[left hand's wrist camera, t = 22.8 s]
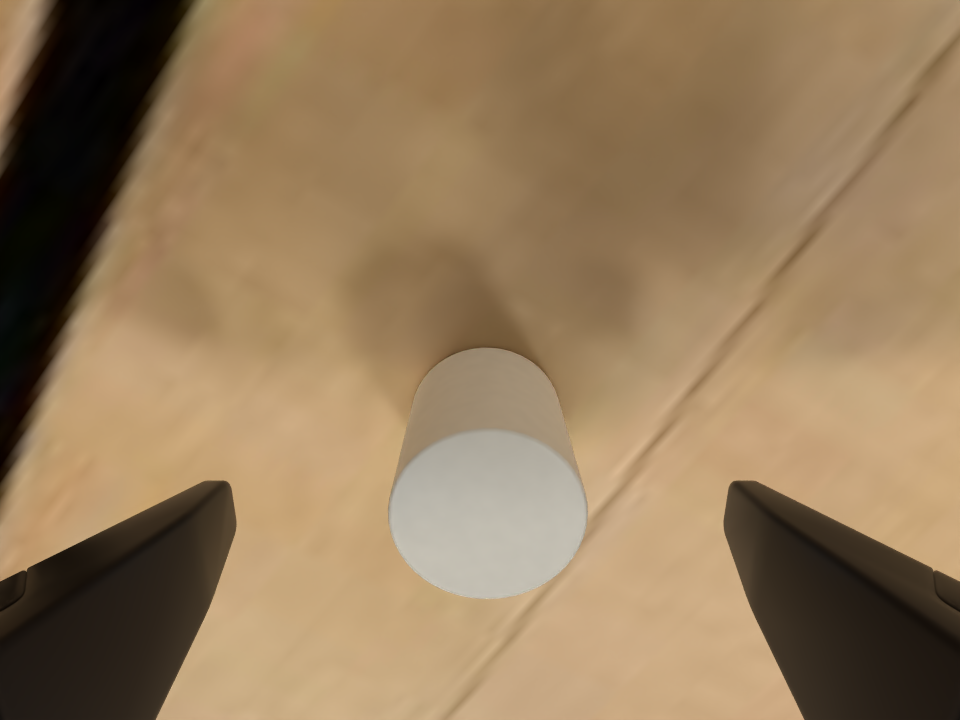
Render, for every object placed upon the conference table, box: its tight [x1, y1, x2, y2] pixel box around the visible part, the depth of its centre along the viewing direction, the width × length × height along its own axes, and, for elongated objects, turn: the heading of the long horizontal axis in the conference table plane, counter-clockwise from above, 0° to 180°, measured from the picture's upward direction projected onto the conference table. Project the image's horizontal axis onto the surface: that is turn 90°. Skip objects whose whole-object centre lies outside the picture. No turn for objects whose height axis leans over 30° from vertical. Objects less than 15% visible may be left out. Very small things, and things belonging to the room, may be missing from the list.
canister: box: [388, 348, 588, 599], centre depth 13 cm, size 4×4×4 cm
